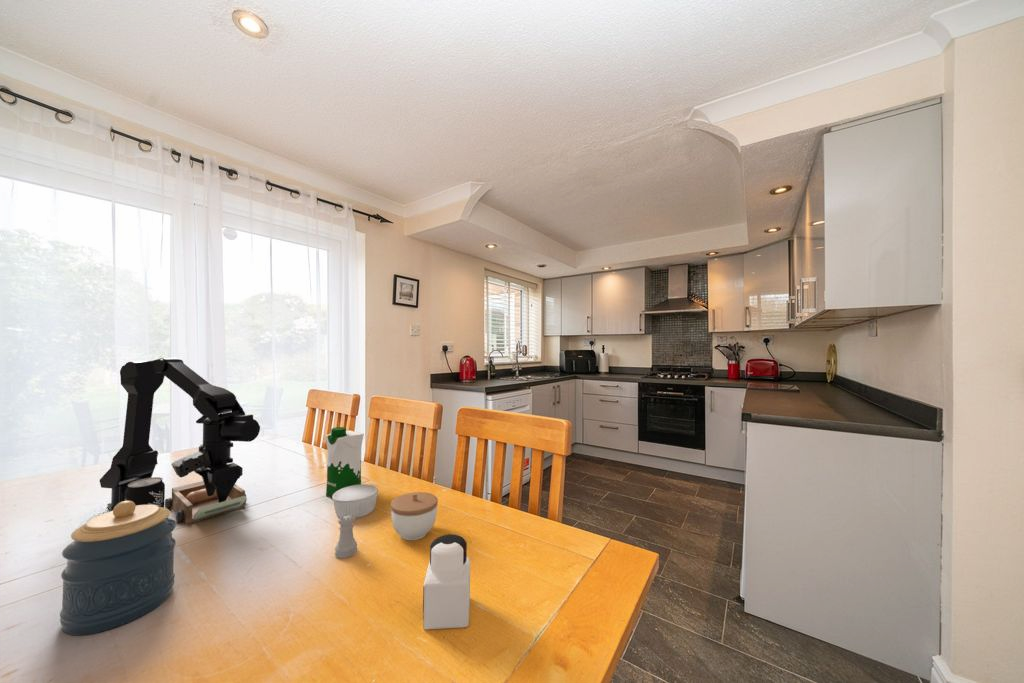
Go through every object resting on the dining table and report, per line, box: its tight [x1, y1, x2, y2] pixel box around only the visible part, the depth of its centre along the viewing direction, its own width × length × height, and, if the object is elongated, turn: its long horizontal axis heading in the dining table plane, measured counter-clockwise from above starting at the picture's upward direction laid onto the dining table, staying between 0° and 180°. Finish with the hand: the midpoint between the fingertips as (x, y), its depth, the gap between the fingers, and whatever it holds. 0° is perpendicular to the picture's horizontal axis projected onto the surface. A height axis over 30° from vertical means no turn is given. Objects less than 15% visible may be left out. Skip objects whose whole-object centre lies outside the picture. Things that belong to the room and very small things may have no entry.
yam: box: [186, 489, 217, 504], centre depth 99 cm, size 3×8×3 cm, turn 144°
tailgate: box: [194, 495, 248, 520], centre depth 91 cm, size 1×9×6 cm
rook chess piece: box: [334, 513, 358, 559], centre depth 76 cm, size 4×4×8 cm
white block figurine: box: [422, 533, 471, 631], centre depth 60 cm, size 7×7×12 cm
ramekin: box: [331, 483, 379, 519], centre depth 96 cm, size 11×11×5 cm
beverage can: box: [125, 476, 166, 508], centre depth 84 cm, size 7×7×12 cm
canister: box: [59, 501, 177, 636], centre depth 60 cm, size 13×13×18 cm
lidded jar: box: [390, 491, 439, 541], centre depth 85 cm, size 11×11×9 cm
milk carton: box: [325, 426, 365, 498], centre depth 107 cm, size 9×9×20 cm
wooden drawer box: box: [164, 480, 248, 525], centre depth 98 cm, size 18×14×4 cm
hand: (215, 499), depth 94 cm, fingers open, 9 cm apart
